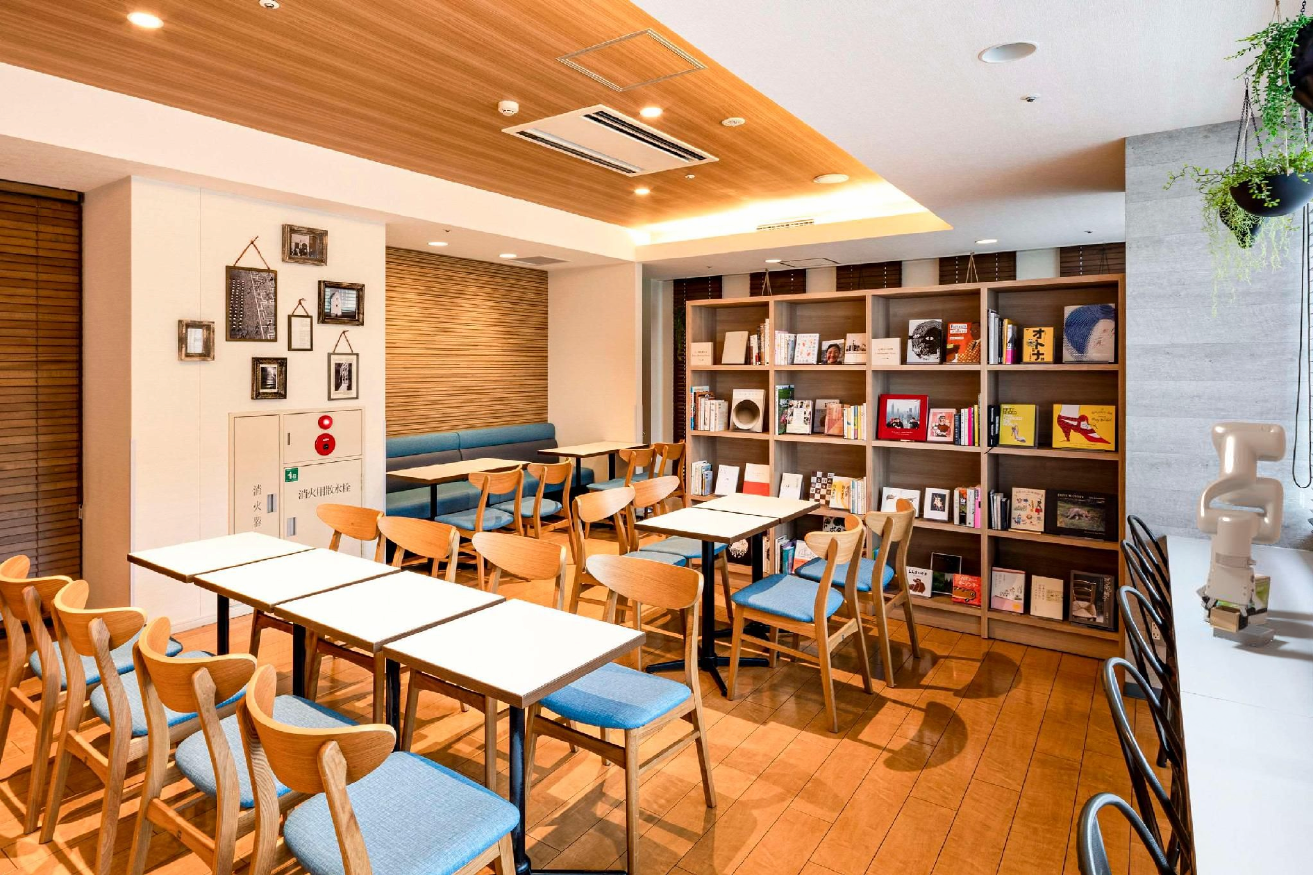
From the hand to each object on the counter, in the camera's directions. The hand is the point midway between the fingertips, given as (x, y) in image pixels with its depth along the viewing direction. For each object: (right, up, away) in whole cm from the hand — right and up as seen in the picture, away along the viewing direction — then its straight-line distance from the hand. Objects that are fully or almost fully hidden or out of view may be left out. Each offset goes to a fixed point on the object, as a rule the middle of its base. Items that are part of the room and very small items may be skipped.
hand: (1227, 624), depth 207 cm
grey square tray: (+9, -5, +6) cm, 12 cm away
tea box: (+17, -4, +20) cm, 27 cm away
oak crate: (0, -1, 0) cm, 1 cm away
